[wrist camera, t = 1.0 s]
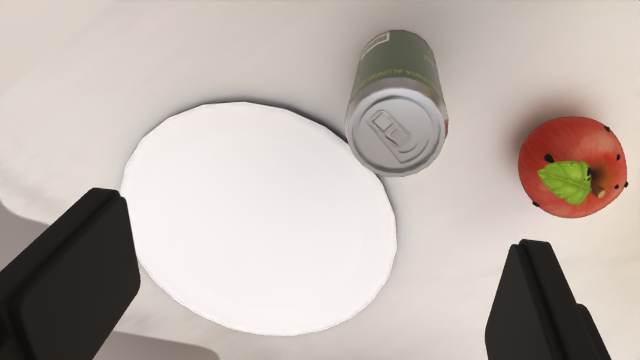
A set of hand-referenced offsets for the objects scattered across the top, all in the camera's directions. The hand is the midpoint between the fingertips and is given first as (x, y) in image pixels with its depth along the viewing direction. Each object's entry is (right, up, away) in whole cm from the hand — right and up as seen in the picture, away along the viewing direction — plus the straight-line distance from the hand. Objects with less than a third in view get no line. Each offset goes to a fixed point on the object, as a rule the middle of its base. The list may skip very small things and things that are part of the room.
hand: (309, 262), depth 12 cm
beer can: (+6, +10, +23) cm, 26 cm away
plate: (-5, -2, +32) cm, 33 cm away
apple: (+17, +5, +24) cm, 30 cm away
